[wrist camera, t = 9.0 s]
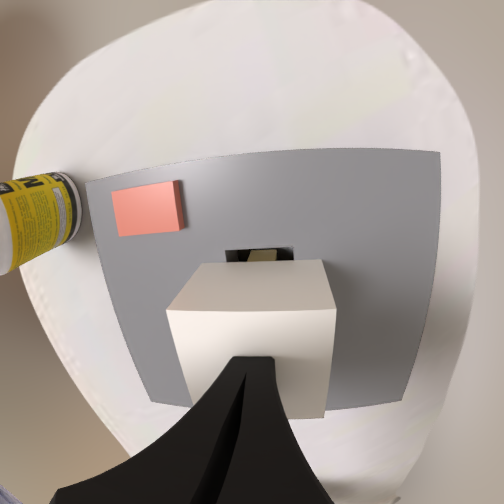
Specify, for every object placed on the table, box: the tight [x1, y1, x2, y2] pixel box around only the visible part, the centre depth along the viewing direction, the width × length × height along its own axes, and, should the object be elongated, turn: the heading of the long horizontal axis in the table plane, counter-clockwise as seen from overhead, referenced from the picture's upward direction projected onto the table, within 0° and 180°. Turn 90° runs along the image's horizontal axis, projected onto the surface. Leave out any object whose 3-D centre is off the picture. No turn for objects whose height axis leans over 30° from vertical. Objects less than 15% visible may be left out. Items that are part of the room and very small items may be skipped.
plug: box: [166, 249, 337, 419], centre depth 12 cm, size 7×5×6 cm
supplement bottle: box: [0, 172, 82, 275], centre depth 11 cm, size 5×5×8 cm
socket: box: [85, 148, 441, 411], centre depth 13 cm, size 14×16×3 cm
